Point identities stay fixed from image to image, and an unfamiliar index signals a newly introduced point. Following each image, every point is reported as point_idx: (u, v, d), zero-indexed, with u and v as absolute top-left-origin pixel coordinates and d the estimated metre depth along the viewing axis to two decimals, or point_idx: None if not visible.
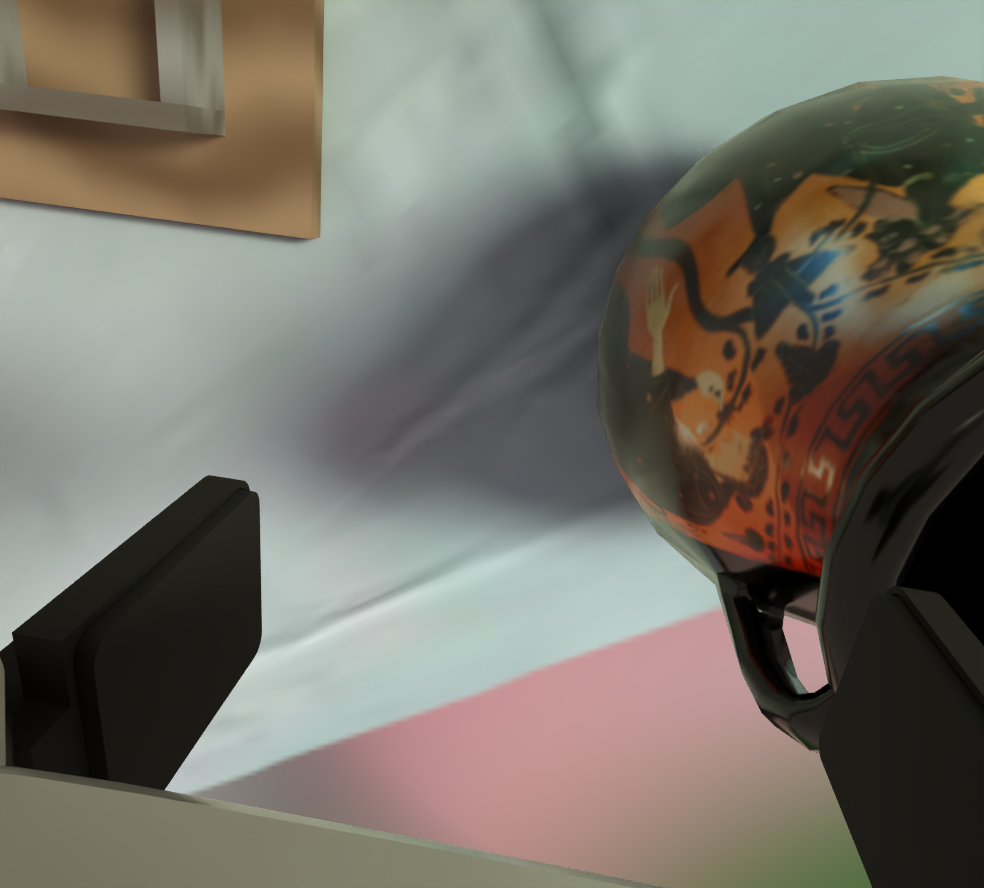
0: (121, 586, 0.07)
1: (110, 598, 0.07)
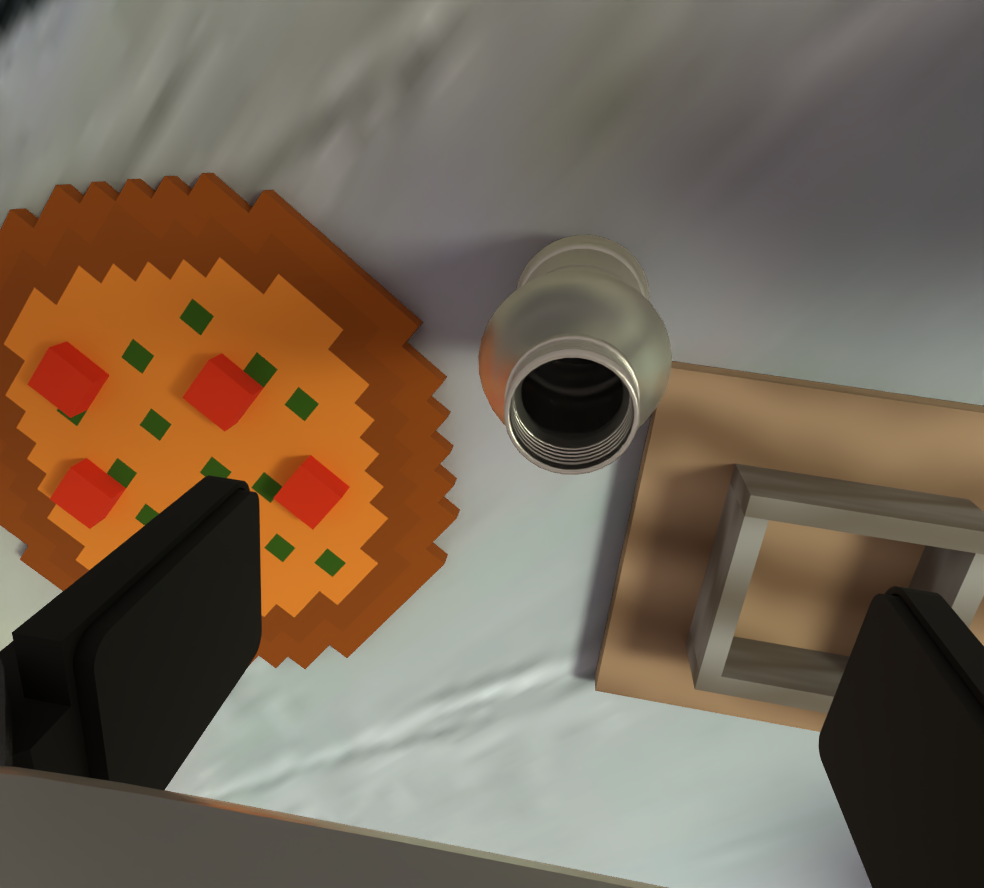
0: (121, 586, 0.07)
1: (109, 599, 0.07)
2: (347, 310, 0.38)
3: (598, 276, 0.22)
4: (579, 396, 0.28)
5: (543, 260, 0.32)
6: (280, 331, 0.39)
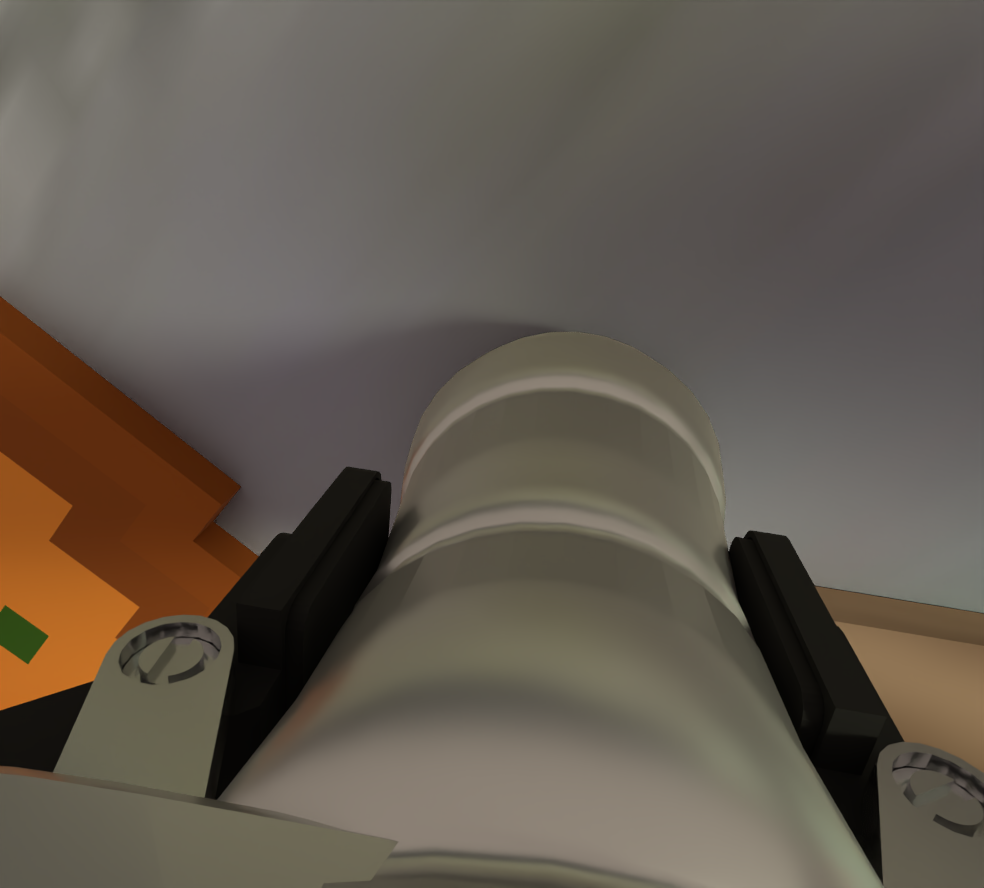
0: (311, 564, 0.08)
1: (306, 575, 0.08)
2: (74, 469, 0.18)
3: None
4: None
5: (459, 413, 0.12)
6: None
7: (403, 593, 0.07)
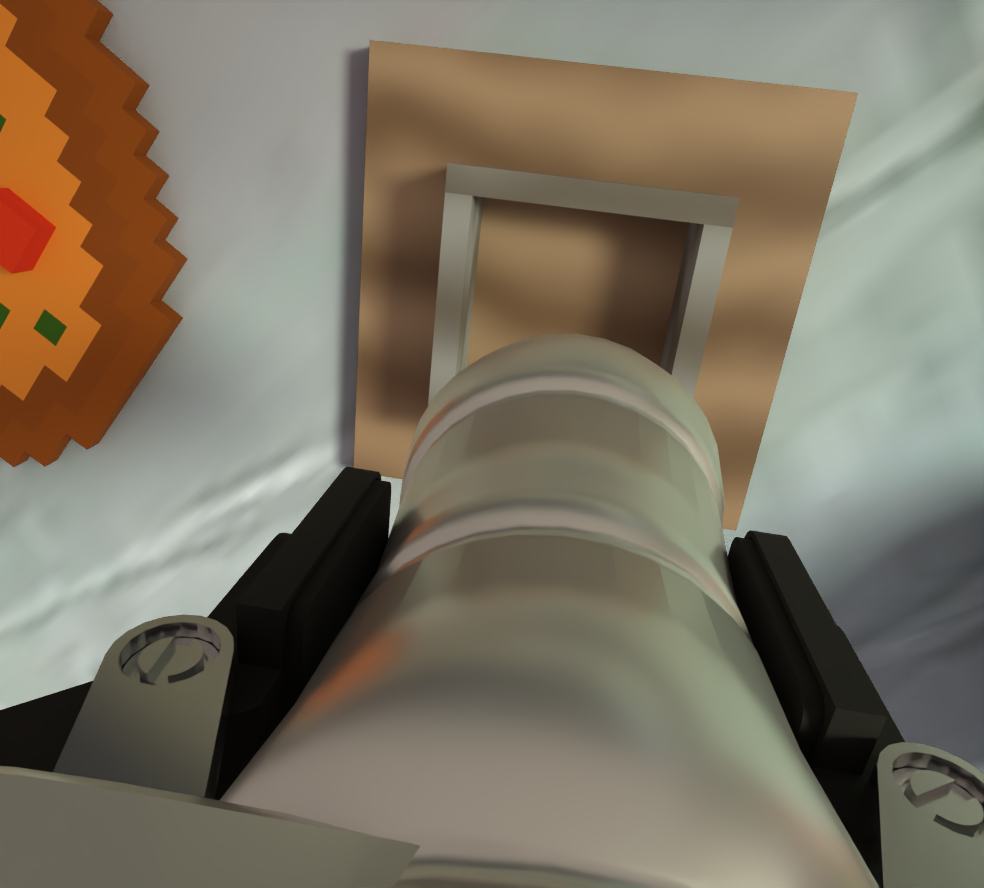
0: (311, 564, 0.08)
1: (305, 574, 0.08)
2: None
3: None
4: None
5: (458, 416, 0.12)
6: None
7: (402, 597, 0.07)
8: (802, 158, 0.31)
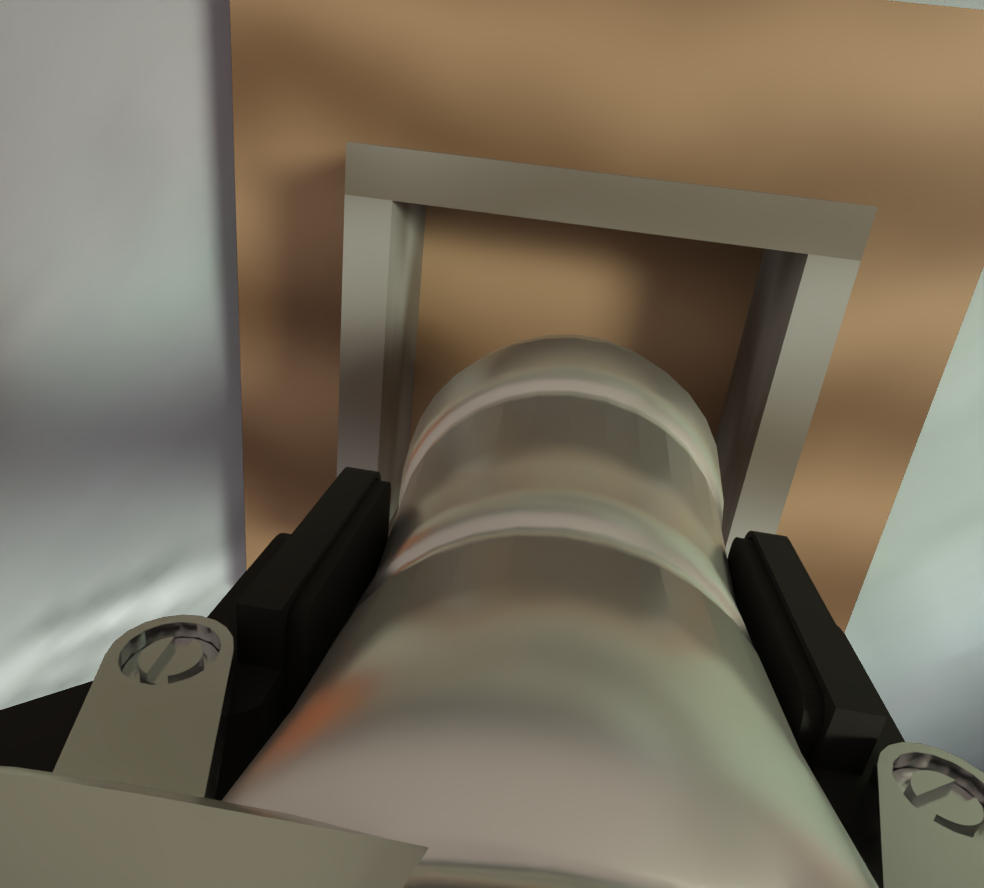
0: (311, 564, 0.08)
1: (306, 574, 0.08)
2: None
3: None
4: None
5: (457, 417, 0.12)
6: None
7: (401, 599, 0.07)
8: (965, 137, 0.18)
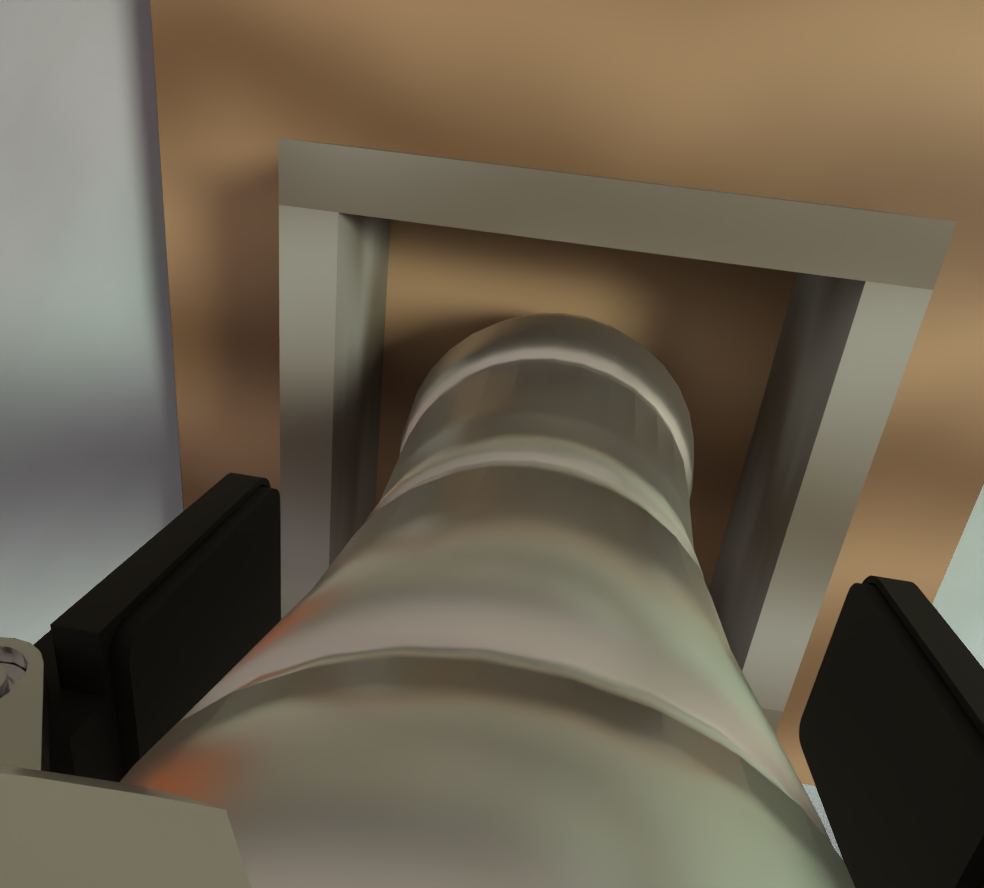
0: (153, 580, 0.08)
1: (142, 592, 0.07)
2: None
3: (535, 820, 0.04)
4: None
5: (449, 384, 0.14)
6: None
7: (391, 515, 0.08)
8: None
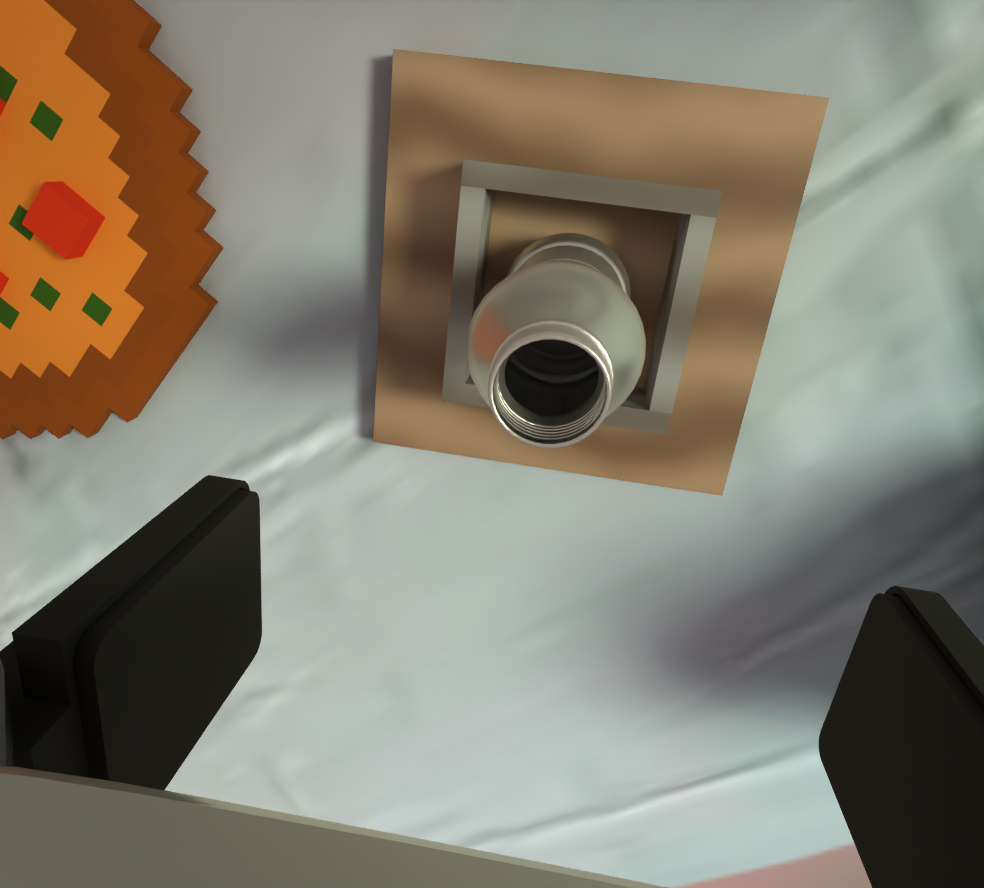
0: (121, 586, 0.07)
1: (109, 599, 0.07)
2: (78, 5, 0.37)
3: (575, 267, 0.24)
4: (563, 383, 0.30)
5: (528, 257, 0.34)
6: (15, 35, 0.38)
7: None
8: (779, 156, 0.35)
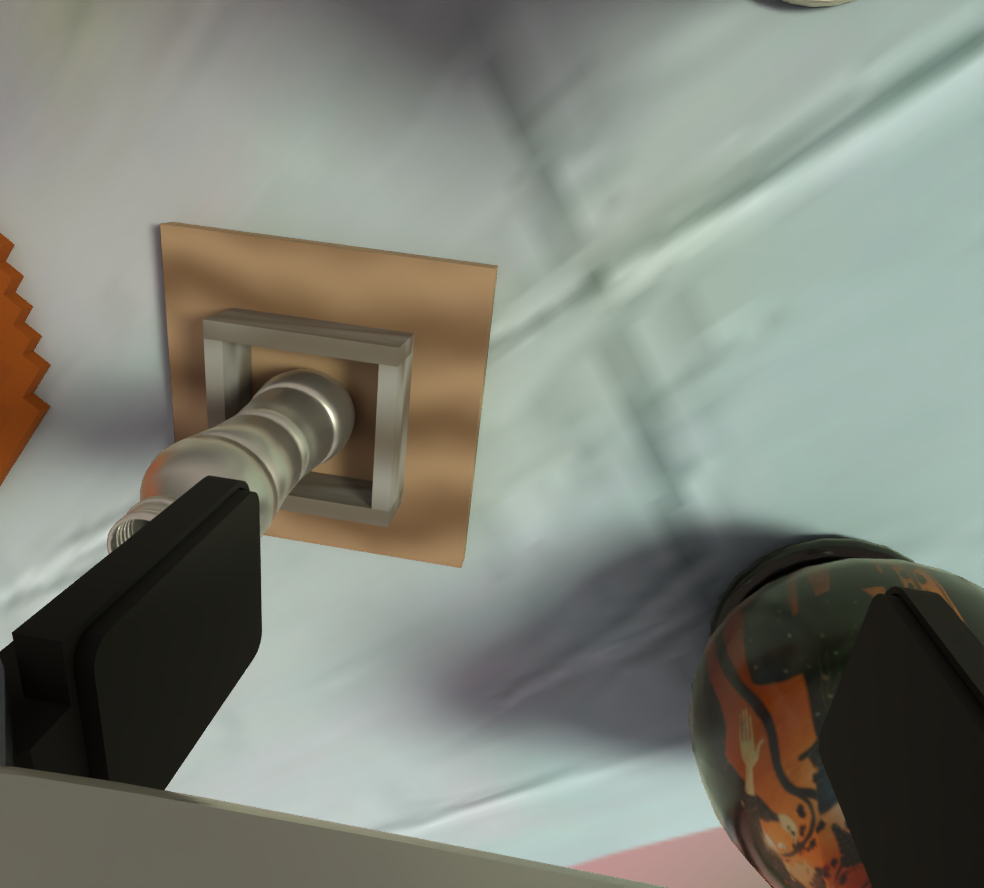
0: (121, 586, 0.07)
1: (110, 598, 0.07)
2: None
3: (208, 444, 0.33)
4: None
5: (258, 394, 0.43)
6: None
7: (218, 425, 0.38)
8: (464, 310, 0.44)
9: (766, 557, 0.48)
